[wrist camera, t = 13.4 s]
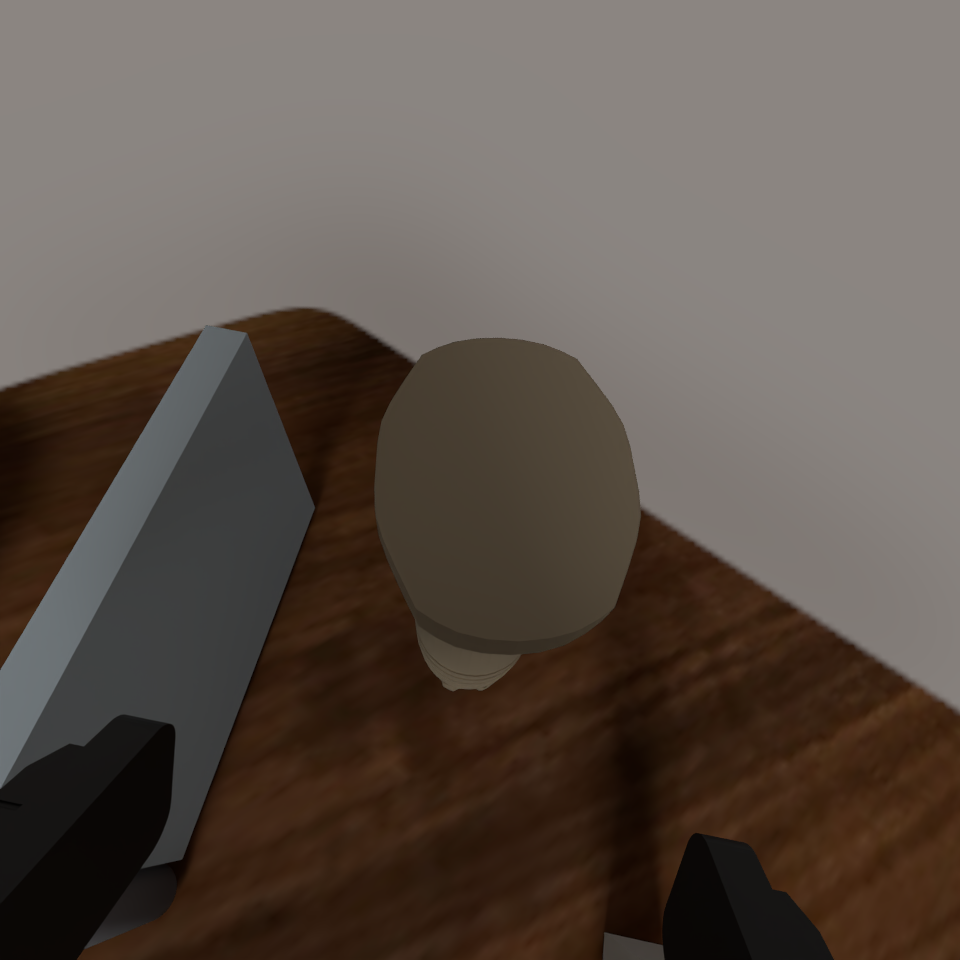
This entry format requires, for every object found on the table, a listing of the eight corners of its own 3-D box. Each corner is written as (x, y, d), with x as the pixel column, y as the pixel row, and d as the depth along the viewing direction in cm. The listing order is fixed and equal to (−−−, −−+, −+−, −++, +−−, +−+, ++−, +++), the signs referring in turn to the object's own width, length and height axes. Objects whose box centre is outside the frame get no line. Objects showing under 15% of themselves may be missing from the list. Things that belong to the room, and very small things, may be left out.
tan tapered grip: (518, 579, 25) (609, 340, 12) (529, 736, 22) (667, 639, 9) (409, 579, 25) (384, 334, 12) (404, 740, 22) (363, 643, 9)
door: (163, 927, 18) (-135, 1064, 9) (114, 916, 18) (-235, 1039, 9) (319, 508, 26) (253, 334, 16) (285, 501, 26) (199, 323, 16)
